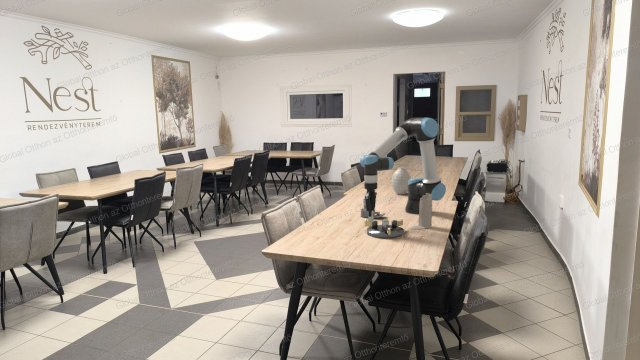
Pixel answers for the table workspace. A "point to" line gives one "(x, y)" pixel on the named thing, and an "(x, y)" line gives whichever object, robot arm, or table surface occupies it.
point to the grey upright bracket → (425, 212)
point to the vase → (400, 181)
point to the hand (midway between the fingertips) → (370, 221)
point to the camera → (365, 213)
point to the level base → (381, 231)
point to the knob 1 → (371, 224)
